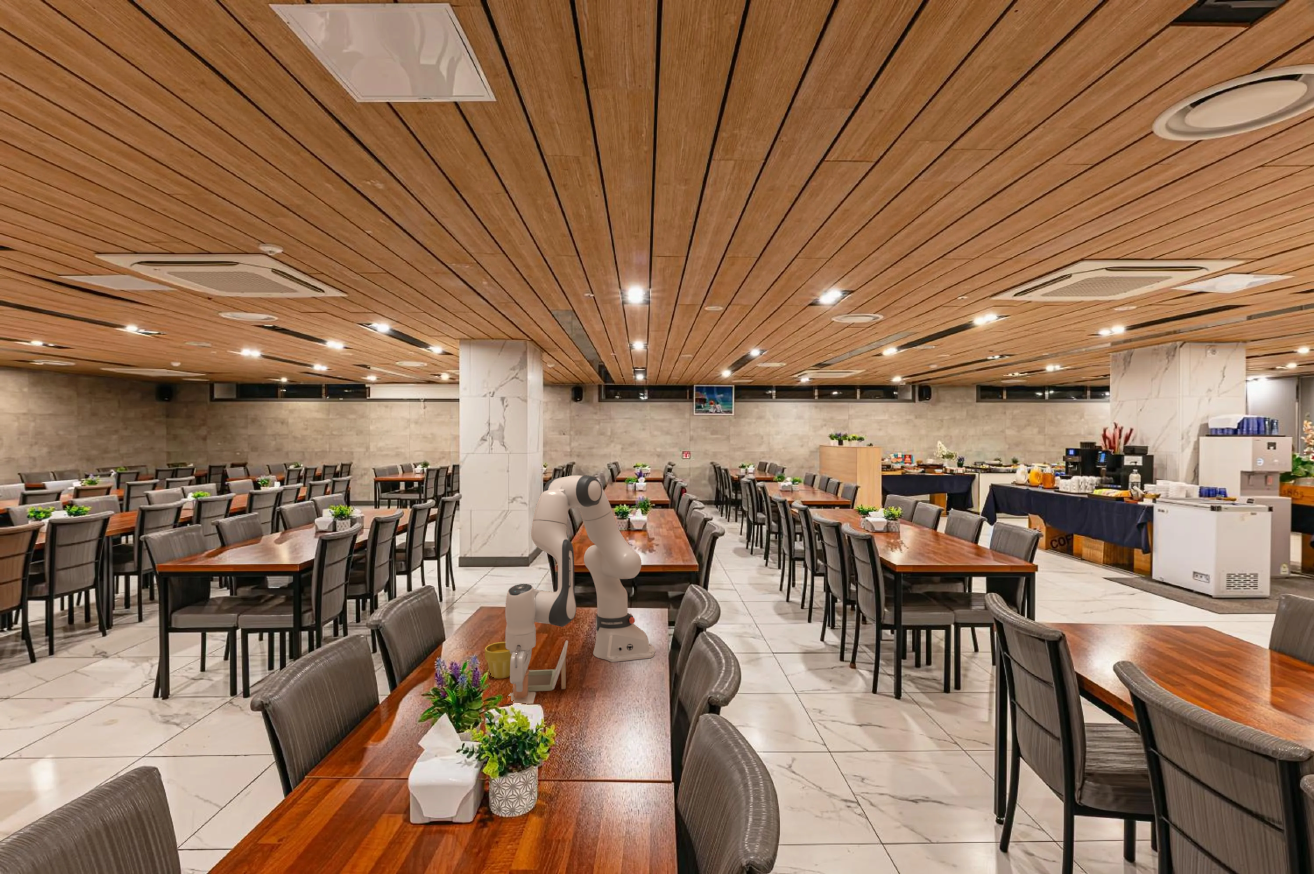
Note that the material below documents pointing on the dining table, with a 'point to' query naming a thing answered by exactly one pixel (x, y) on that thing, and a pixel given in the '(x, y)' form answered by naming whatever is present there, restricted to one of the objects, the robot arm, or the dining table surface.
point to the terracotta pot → (525, 688)
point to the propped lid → (561, 668)
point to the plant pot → (498, 659)
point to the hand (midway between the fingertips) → (521, 686)
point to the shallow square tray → (540, 680)
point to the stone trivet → (524, 698)
